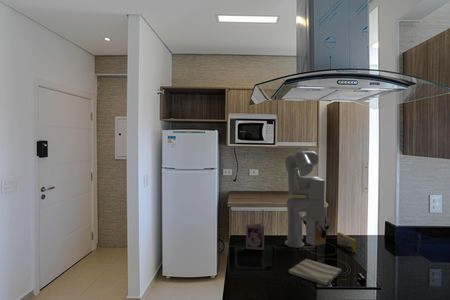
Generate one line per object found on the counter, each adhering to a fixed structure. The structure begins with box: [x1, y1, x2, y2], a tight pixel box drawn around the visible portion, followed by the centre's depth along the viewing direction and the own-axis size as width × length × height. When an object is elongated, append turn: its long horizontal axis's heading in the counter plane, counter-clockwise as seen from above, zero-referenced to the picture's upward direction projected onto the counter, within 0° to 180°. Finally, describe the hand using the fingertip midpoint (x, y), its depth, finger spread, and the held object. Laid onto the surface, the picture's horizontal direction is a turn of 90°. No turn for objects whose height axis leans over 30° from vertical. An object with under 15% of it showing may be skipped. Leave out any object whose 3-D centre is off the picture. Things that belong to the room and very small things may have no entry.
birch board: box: [288, 258, 342, 287], centre depth 151 cm, size 20×20×2 cm
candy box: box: [336, 231, 357, 253], centre depth 187 cm, size 16×2×8 cm, turn 15°
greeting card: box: [245, 222, 265, 251], centre depth 185 cm, size 11×7×15 cm, turn 83°
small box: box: [305, 218, 327, 246], centre depth 150 cm, size 8×6×13 cm
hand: (315, 235), depth 150 cm, fingers closed on small box, 7 cm apart
